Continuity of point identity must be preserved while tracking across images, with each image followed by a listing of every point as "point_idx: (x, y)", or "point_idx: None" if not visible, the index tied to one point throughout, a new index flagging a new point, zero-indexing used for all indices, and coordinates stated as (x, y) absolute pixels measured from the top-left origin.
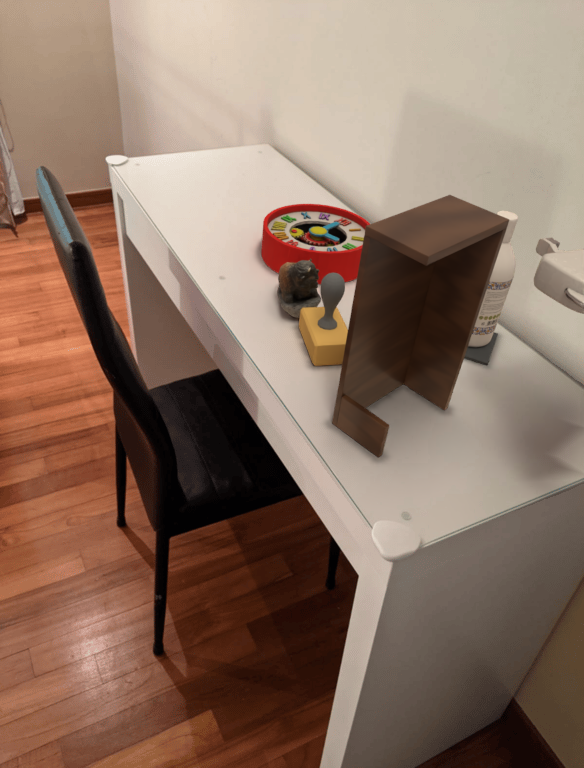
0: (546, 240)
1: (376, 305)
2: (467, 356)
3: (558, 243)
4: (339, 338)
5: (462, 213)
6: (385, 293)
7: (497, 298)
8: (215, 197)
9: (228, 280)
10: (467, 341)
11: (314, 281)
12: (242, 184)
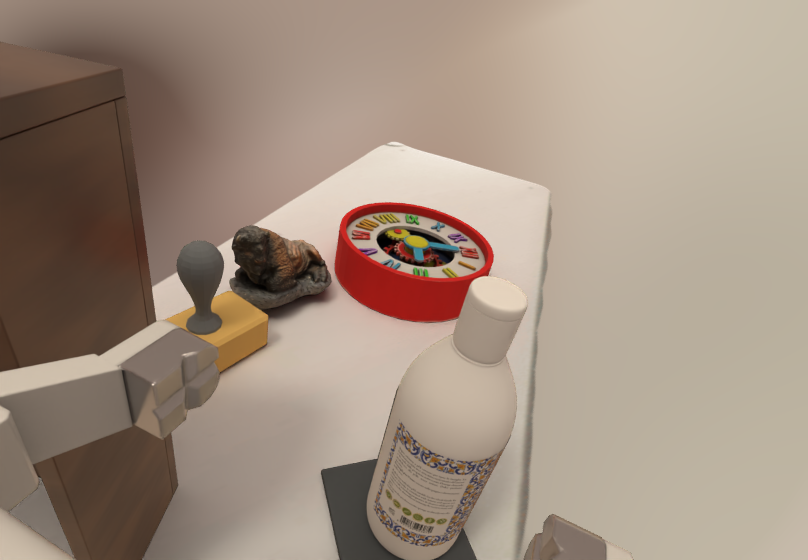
0: (141, 335)
1: None
2: (340, 549)
3: (144, 381)
4: None
5: None
6: None
7: (419, 480)
8: (417, 190)
9: None
10: (54, 503)
11: (251, 262)
12: (463, 195)
